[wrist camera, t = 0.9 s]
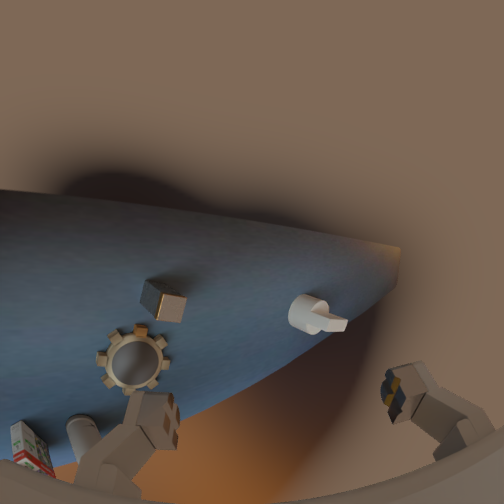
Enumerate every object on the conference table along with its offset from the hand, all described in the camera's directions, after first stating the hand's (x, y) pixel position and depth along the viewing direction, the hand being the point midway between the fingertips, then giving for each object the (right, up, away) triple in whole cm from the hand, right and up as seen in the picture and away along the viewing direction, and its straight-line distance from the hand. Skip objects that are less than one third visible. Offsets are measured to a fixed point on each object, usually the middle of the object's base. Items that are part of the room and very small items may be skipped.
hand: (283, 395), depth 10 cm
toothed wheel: (-22, -14, +38) cm, 46 cm away
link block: (-18, -2, +39) cm, 43 cm away
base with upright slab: (+11, -10, +66) cm, 68 cm away
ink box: (-43, -29, +24) cm, 57 cm away
